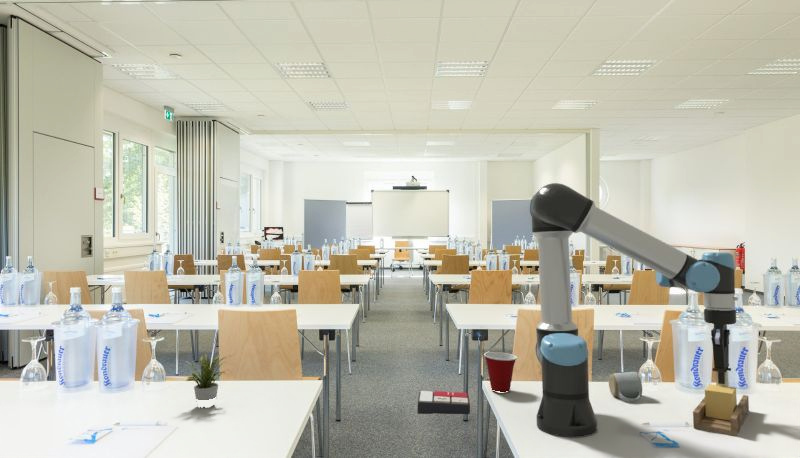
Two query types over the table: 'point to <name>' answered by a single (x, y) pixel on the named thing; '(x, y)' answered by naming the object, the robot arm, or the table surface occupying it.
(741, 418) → the walnut chute
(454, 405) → the black red white box
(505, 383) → the plastic cup
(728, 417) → the mustard block
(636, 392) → the ceramic mug
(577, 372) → the robot arm
